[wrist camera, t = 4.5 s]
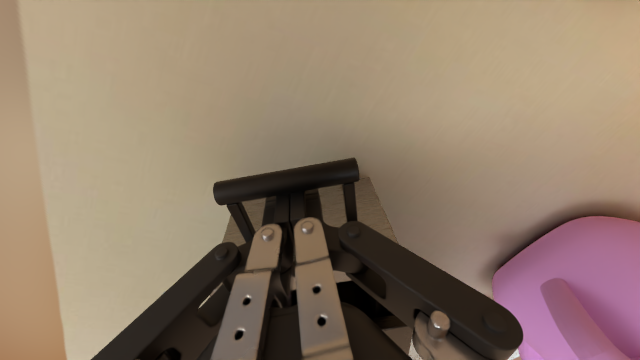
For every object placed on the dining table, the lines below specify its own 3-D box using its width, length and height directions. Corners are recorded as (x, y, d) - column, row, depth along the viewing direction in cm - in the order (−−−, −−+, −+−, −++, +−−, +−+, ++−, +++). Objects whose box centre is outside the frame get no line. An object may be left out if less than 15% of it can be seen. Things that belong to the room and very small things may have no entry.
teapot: (557, 171, 21) (939, 409, 8) (672, 226, 27) (986, 406, 15) (404, 303, 32) (471, 482, 20) (509, 319, 38) (609, 463, 26)
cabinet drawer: (208, 145, 15) (154, 229, 9) (366, 116, 15) (412, 185, 9) (279, 291, 26) (274, 373, 20) (372, 275, 26) (395, 354, 20)
